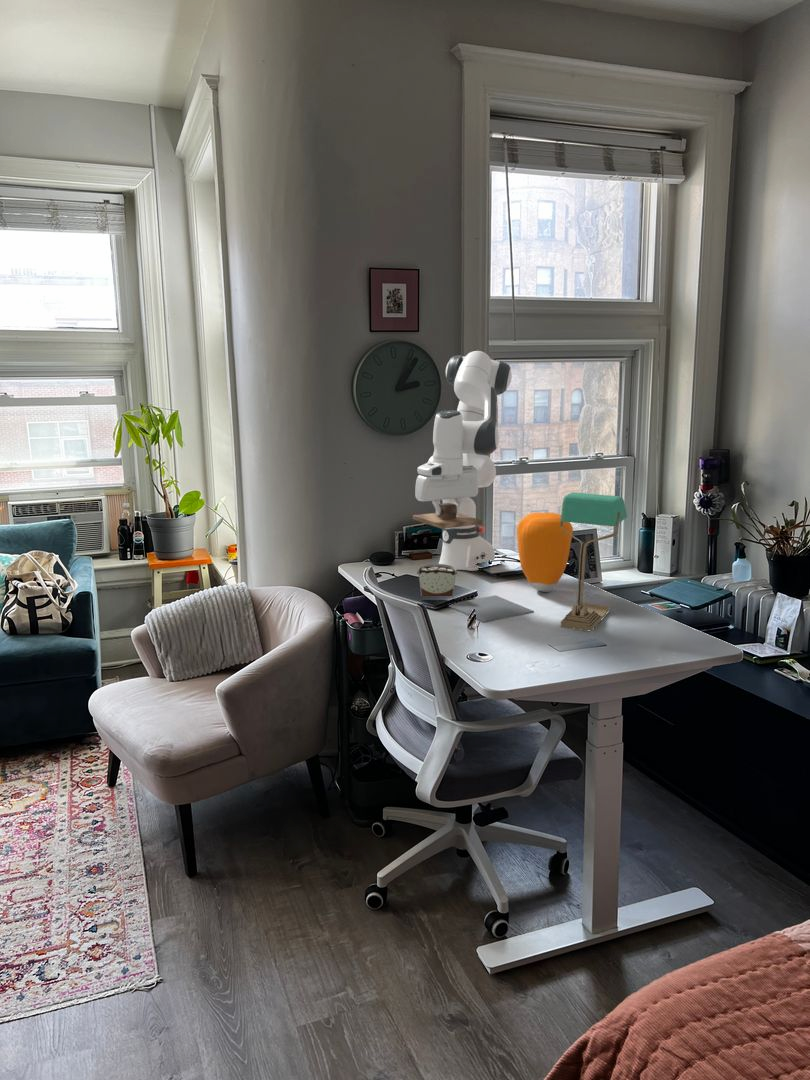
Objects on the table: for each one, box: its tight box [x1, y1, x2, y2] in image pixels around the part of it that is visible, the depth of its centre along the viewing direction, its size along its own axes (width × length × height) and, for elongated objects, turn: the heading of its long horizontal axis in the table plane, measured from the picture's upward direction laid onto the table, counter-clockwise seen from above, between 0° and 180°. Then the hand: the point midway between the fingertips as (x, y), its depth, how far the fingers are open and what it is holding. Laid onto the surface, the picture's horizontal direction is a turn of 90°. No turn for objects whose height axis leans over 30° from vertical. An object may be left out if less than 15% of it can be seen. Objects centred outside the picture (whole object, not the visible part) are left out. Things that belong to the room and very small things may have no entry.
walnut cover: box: [412, 502, 483, 530], centre depth 240 cm, size 14×16×5 cm
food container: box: [416, 563, 459, 597], centre depth 247 cm, size 12×6×10 cm, turn 84°
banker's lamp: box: [560, 492, 628, 632], centre depth 225 cm, size 16×21×35 cm
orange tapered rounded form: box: [516, 512, 574, 593], centre depth 252 cm, size 17×17×25 cm
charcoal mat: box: [448, 595, 535, 623], centre depth 237 cm, size 18×18×1 cm
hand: (446, 513), depth 240 cm, fingers closed on walnut cover, 4 cm apart
